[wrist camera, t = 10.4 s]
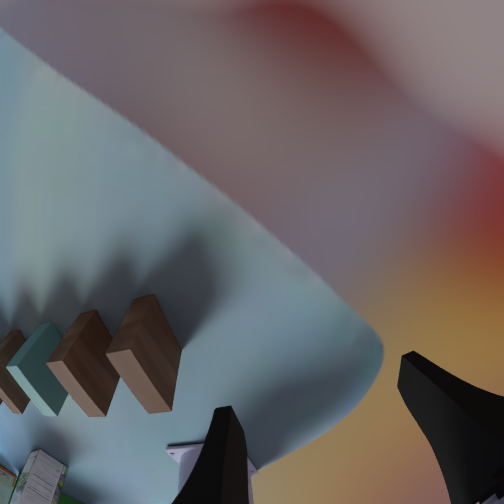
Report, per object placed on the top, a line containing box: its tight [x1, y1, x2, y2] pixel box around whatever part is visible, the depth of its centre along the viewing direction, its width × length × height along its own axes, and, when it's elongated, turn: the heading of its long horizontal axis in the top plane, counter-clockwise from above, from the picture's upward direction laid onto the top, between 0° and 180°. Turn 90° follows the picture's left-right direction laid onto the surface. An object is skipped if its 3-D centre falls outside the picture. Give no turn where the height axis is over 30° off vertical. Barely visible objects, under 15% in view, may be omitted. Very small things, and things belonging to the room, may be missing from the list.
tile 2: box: [46, 310, 120, 417], centre depth 16 cm, size 2×5×6 cm, turn 15°
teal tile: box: [6, 321, 68, 416], centre depth 17 cm, size 2×5×6 cm, turn 16°
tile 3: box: [0, 330, 31, 414], centre depth 17 cm, size 2×5×6 cm, turn 15°
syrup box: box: [10, 449, 68, 504], centre depth 20 cm, size 6×6×14 cm
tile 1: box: [106, 294, 182, 414], centre depth 16 cm, size 2×5×6 cm, turn 15°
